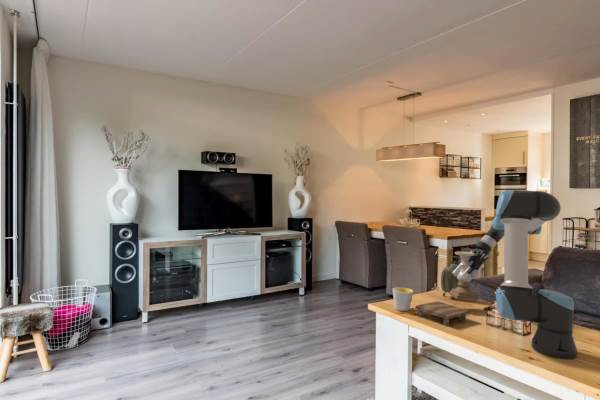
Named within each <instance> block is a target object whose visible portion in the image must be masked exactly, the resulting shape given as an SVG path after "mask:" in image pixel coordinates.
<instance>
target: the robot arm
mask: <svg viewBox="0 0 600 400" xmlns="http://www.w3.org/2000/svg"><path fill="white" fill-rule="evenodd" d="M497 199H498V200H497V204H496V209H495V215H496V216H495V217H493V219H492V222H491V225H490V228H489V229H488V231H487V232H486V233H485V234H484V235H483V236H482V237H481V239H480V240H479V241H478V242H477V243H476V244H475V246H474V249H473V250H470V249H468V250H467V251H466V252H472V253H475V254H476V255H475V256H471V257H470V259H469V260H468V262H469V263H470V262H471V264H470V266H469V267H468V268H467V269H466V270H465V272H464V273H463V274H462V275H461V276H462V277H463V278H464V279H466V278H467V277H468V275H469V274H470V275H471V273H472V272H473V271H478V270H480V268H481V267H482V265H483V264H484V263H485V262H486V261H487V260H488V259H489V254H490V253H491V251H492V250H493V249H494V248H495V247H496V245H498V243H499V242H500V241H501V240H502V239H503V240H504V243H503V244H504V248H503V249H504V254H503V255H504V261H503V262H504V271H503V272H504V279H503V280H504V281H503V282H502V283H500V285H499V288H497V289H496V290H495V301H496V308H497V310H498V311H497V312H498V313H499V315H500V317H501V318H503V319H507V320H512V321H519V322H520V321H521V322H527V323H528V322H529V323H537V324H536V325H537V326H536V330H535V332H534V335H533V337H531V341H530V343H531V348H532V349H533V350H535V351H536V352H538V353H540V354H543V355H546V356H549V357H553V358H557V359H567V360H568V359H570V360H572V359H576V358H577V357H578V348H577V345H576V341H575V340H574V339H575V338H574V336H573V331H574V330H573V329H574V312H575V304H574V299H573V298H572V297H571V296H569V295H567V294H564V293H562V292H559V291H555V290H550V289H545V288H543V289H539V290H538V292H534V288H533V286H531V285H530V284H529V252H528V251H529V250H528V249H529V247H528V246H529V245H528V243H529V242H528V241H529V240H528V235H531V236H532V235H541V231H542V226H543V225H544V224H545V223H546V222H549V221H553V220H554V219H556V218H557V217H558V216H559V215H560V213H561V210H562V207H561V203H560V201H559V200H558V198H556V197H555V196H554V195H553V194H551V193H549V192H547V191H543V190H542V191H541V190H518V189H516V190H515V189H512V190H503V191H501V192H500V193H499V196H498V198H497ZM457 262H458V263H457V265H458V266H457V268H456V269H455V270H454V271H453V272H452V273H453V274H454V275H455V276H457V275H458V273H459V272H460V270H461V266H460V265H459V264H460V263H461V258H460V259H459V260H458V261H457Z"/></svg>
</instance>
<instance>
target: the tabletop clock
mask: <svg viewBox="0 0 600 400" xmlns="http://www.w3.org/2000/svg"><path fill="white" fill-rule="evenodd" d="M452 258H456V259H457V258H458V259H459V260H460V259H461V258H460V256H458V255H457V256H455V255H452V256H449V257H448V262H450V263H451V264H450V266H446V267H445V266H444V267H443V268H442V271H441V276H440V287H441V291H442V292H443V293H442V296H443V297H444V296H446V293H449V294H450V291H451V290H452V289H456V288H457V287H459V286H458V282H459V280H458V279H457V276H455V275H454V274H453V273H452V272H453V271H454V270H455V269H456V268H457V266H458V265H459V263H458V261H457V262H456V260H453V261H451V260H450V259H452ZM451 299H452V300H455V299H456V298H454V297H453V296H451Z"/></svg>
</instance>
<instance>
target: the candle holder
mask: <svg viewBox="0 0 600 400" xmlns="http://www.w3.org/2000/svg"><path fill="white" fill-rule="evenodd" d="M454 254H455V255H457V256H458V257H459V258H460V259H461V263H460V264H459V263H458V265H460V266H461V270H460V272H459V273H458V275H457V279H458V280H459V282H458V286H459V287H457V288H456V289H452V290H451V291H450V293H449V296H451V297H452V296H453V297H454V298H455V299H456V300H462V301H478V299H479V297H478V295H477V294H476V292H475V291H473V290H472V289H471V288H470V287H471V284H470V282H471V281H472V279H473V278H472V275H471V274H469V275H468V277H467V278H466V279H464V278H463V277H462V276H461V275H462V274H463V273H464V272H465V270H466V269H467V268H468V267H470V265H471V264H470V262H468V260H469V259H470V257H471V256H475V255H476V254H475V253H472V252H467V251H458V250H457V251H455V252H454Z"/></svg>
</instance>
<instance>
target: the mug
mask: <svg viewBox="0 0 600 400" xmlns="http://www.w3.org/2000/svg"><path fill="white" fill-rule="evenodd" d="M392 293H393V294H392V296H393V303H394V304H393V305H394V307H395V310H396V311H399V312H407V311H409V309H410V308H411V304H412V303H411V302H412V300H413V295H414V294H413V293H414V290H413V289H412V288H408V287H397V286H396V287H393V288H392Z"/></svg>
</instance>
